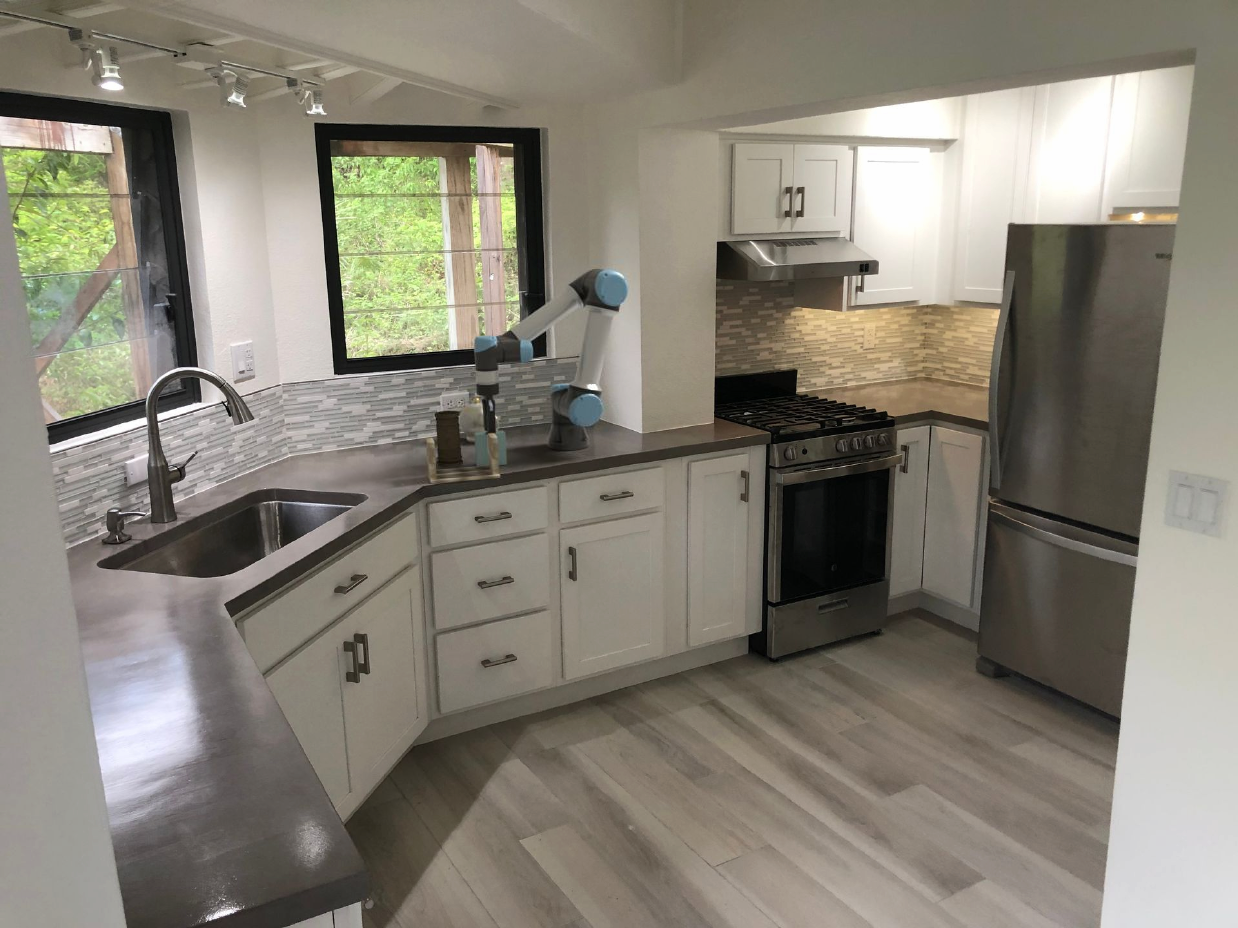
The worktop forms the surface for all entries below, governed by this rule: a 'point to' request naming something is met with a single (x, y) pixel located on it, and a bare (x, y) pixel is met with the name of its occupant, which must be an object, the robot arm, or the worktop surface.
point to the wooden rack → (466, 472)
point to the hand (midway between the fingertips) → (490, 451)
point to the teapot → (473, 420)
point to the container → (448, 439)
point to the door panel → (481, 448)
